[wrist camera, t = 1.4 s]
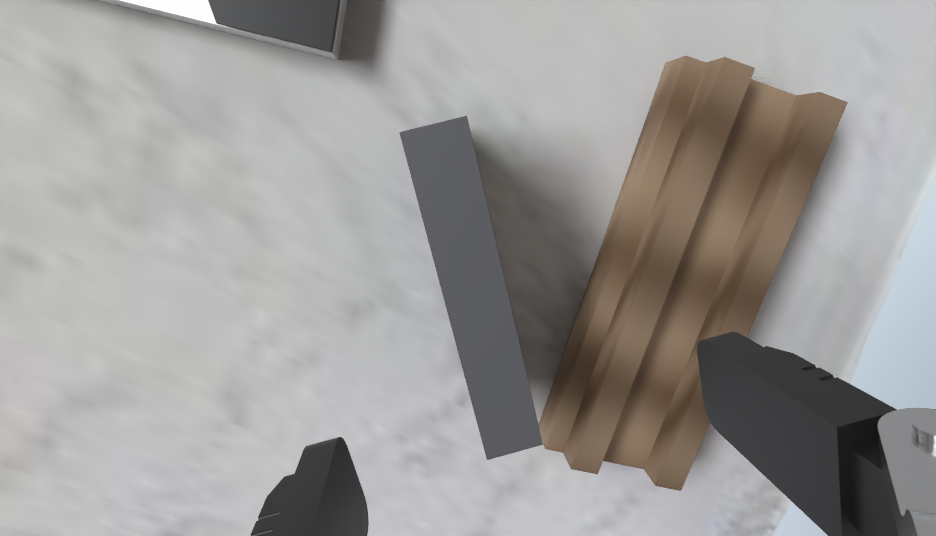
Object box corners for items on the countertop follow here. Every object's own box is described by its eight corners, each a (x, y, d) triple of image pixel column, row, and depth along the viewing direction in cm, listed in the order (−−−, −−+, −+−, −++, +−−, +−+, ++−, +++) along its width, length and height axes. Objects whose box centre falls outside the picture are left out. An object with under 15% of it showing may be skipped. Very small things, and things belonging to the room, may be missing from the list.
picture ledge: (667, 457, 31) (697, 494, 28) (536, 429, 30) (552, 465, 26) (810, 114, 27) (866, 109, 24) (665, 63, 26) (704, 49, 22)
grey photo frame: (509, 365, 29) (542, 444, 21) (468, 376, 29) (487, 459, 21) (451, 126, 25) (467, 115, 18) (404, 138, 25) (399, 132, 17)
